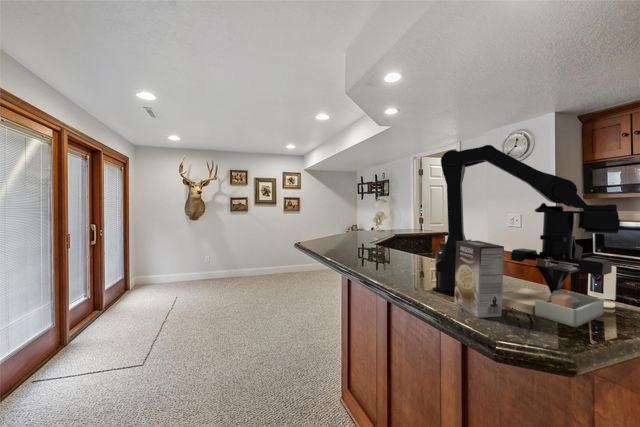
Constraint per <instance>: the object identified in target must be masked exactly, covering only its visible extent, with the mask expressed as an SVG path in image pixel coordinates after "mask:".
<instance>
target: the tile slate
mask: <svg viewBox="0 0 640 427" xmlns="http://www.w3.org/2000/svg"><path fill="white" fill-rule="evenodd" d="M568 292H569V291H567V290H565V289H560V290H555V291H553V292H552V294H551V293H550V294H551V295H550V297H549V298H548V299H549V300H551V301H552V296H554V295H556V294H564V295H569V296H572V295H571V294H570V293H571V292H570V293H568ZM580 303H581V301H580V300H578V299H577V298H575V297H574V296H573V297H572V309H576V308H577V306H578V305H579V304H580Z"/></svg>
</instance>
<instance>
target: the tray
mask: <svg viewBox="0 0 640 427" xmlns="http://www.w3.org/2000/svg"><path fill="white" fill-rule="evenodd" d="M567 292H568V293H570V294H571V295H572V296H574V297H575V298H577V299H578V300H580V301H581V303H580V304H579V305H578V306H577V308H576V309H571V308H567V307H563V306H559V305H555V304H551V303H552V302H550V303H547V302H544V301H540V300H535V314H534V316H536V317H539V316H540V317H539V318H542V317H544V319H546V318H547V319H546V320H549V321H553V322H556V323H559V324H563V325H566V326H569V327H573V328H578V327H580V326H582V325H584V324H587V323H589V322H591V321H593V320H595V319H597V318H599V317H601V316H603V315H604V302H605V300H604V299H602V298H597V297H592V296H588V295H584V294H579V293H575V292H569V291H567Z"/></svg>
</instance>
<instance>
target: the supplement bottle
mask: <svg viewBox="0 0 640 427" xmlns="http://www.w3.org/2000/svg"><path fill="white" fill-rule="evenodd" d="M446 242H447V241H444V242H443V241H442V242H441V241H440V242H439V244H438V249H439V250H436V252H435V263H434V264H435V265H434V268H435V269H434V276H435V278H436V264H437V263H438V262H439V261H440V260H441V259H442V258H444V253H445V247H446Z"/></svg>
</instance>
